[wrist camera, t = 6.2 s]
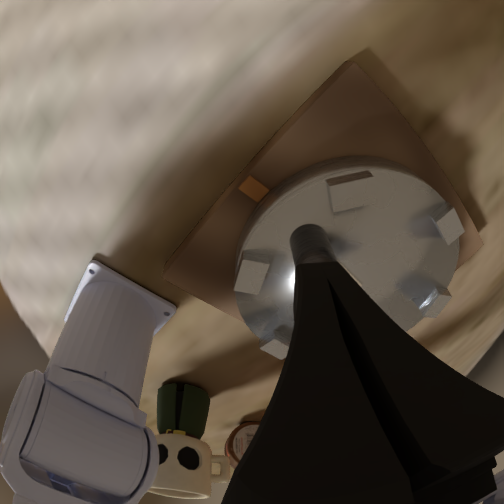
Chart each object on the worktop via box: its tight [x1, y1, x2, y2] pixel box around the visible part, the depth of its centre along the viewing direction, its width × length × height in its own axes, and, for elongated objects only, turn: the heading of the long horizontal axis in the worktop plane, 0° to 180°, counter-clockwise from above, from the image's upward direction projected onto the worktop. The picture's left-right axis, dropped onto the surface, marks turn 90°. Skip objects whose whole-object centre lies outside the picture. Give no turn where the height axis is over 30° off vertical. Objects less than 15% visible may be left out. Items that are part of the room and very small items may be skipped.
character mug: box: [148, 384, 230, 499], centre depth 28 cm, size 11×7×13 cm, turn 86°
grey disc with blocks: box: [234, 156, 465, 360], centre depth 17 cm, size 15×15×7 cm
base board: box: [161, 61, 484, 323], centre depth 21 cm, size 18×18×2 cm
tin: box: [225, 422, 260, 469], centre depth 37 cm, size 15×3×8 cm, turn 78°
